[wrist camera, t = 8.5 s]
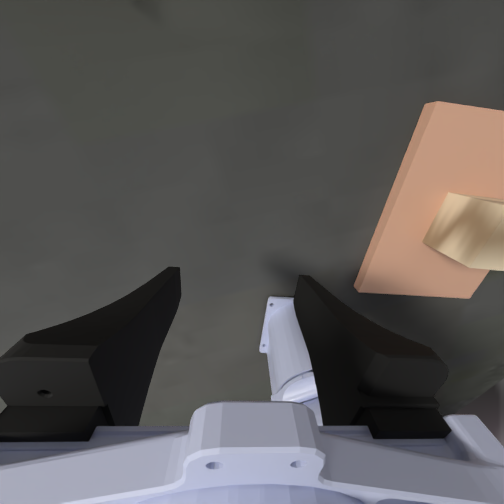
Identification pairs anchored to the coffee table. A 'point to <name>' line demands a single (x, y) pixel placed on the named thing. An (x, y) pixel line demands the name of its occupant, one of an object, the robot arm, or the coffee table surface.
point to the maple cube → (469, 231)
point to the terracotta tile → (434, 201)
